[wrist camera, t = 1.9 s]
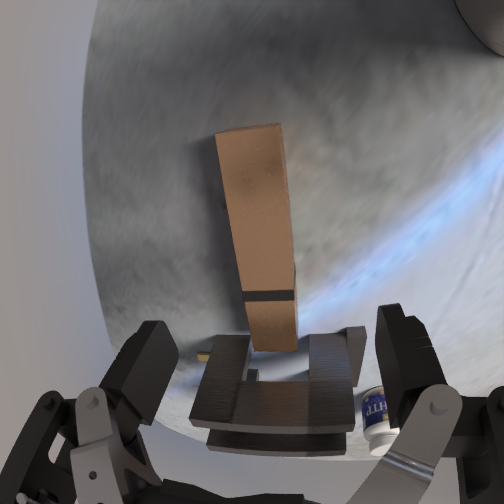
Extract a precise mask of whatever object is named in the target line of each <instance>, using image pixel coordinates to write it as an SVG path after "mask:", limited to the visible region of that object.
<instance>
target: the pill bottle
mask: <svg viewBox="0 0 504 504" xmlns="http://www.w3.org/2000/svg"><path fill="white" fill-rule="evenodd" d="M361 405H362V417H363V431H364V437H365V439H366V440H367V441H370V445H369V448H370V454H371V455H374V456H381V455H385V454H386V452H387V451H388V450H389V448H390V447H391V445H392V444H393V442H394V440H395V439H396V437H397V436H398V434H399V432H400V430H399V428H394V429H390V425H389V418H388V412H387V406H386V400H385V395H384V389H383V386H380V387H376V388H373V389H371V390H369V391H368V392H366V393H365V394H364V395H363V397H362V399H361Z"/></svg>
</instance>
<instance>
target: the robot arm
mask: <svg viewBox="0 0 504 504" xmlns="http://www.w3.org/2000/svg"><path fill="white" fill-rule="evenodd" d="M455 2H456V4H457V7H458V9H459V11H460V13H461V15H462V17H463V18H464V20H465V22H466V23H467V25H468V26H469V27H470V29H471V30H472V32H473V33H474V34H475V35H476V36H477V37H478V38H479V40H480V41H482V42H483V43H484V44H485V45H486V46H487V47H488V48H490V49H491V50H492V51H494V52H495V53H497V54H499V55H501V56H504V0H455ZM375 349H376V355H377V360H378V364H379V369H380V374H381V379H382V384H383V389H384V395H385V400H386V406H387V412H388V418H389V425H390V429H394V428H399V430H400V432H399V434H398V436H397V437H396V439H395V440H394V442H393V444H392V445H391V447H390V448H389V450H388V451H387V452H386V454H385V455H384V456H383V457H382V458H381V460H380V461H379V462H378V464H377V465H376V467H375V468H374V469H373V471H372V472H371V473H370V475H369V476H368V478H367V479H366V480H365V481H364V483H363V484H362V485H361V486H360V488H359V489H358V490H357V491H356V493H355V494H354V495H353V496H352V497H351V499H350V500H349V501H348V502H347V503H346V504H418V503H419V501H420V500H421V498H422V496H423V495H424V493H425V491H426V490H427V488H428V486H429V485H430V483H431V481H432V478H433V475H434V474H433V472H434V470H435V467H436V465H437V464H438V462H439V460H440V458H441V457H456V463H457V471H458V481H459V493H460V504H504V386H500V387H498V388H496V389H494V390H493V391H492V392H491V394H490V395H489V396H488V397H466V396H462V395H460V394H459V393H458V391H457V390H455V389H454V388H453V387H451V386H449V385H448V384H447V382H446V380H445V377H444V374H443V371H442V368H441V366H440V363H439V360H438V358H437V355H436V353H435V350H434V348H433V347H432V343H431V340H430V338H429V336H428V333H427V331H426V328H425V326H424V324H423V323H422V322H421V321H420V320H418V319H417V318H416V317H415V316H408V317H405V315H404V312H403V310H402V307H401V305H400V304H399V303H396V304H389V305H382V306H379V307H378V312H377V324H376V334H375ZM178 357H179V354H178V348H177V346H176V344H175V342H174V340H173V338H172V336H171V334H170V332H169V330H168V327H167V325H166V324H165V322H164V321H161V320H158V321H144V322H143V323H142V325H141V326H140V328H139V330H138V331H137V333H134V334H133V335H132V336H131V337H130V338H129V339H128V340H126V342H125V343H124V345H123V347H122V348H121V350H120V352H119V353H118V355H117V356H116V360H114V361H113V363H112V365H111V366H110V368H109V370H108V371H107V373H106V375H105V376H104V378H103V380H102V381H101V383H100V385H99V387H91V388H88V389H86V390H84V391H83V392H82V393H81V394H80V395H79V396H78V398H77V399H64V398H63V397H62V396H61V395H60V393H59V392H57V391H49V392H47V393H45V394H43V395H42V396H41V398H40V399H39V400H38V402H37V404H36V406H35V407H34V409H33V411H32V413H31V414H30V416H29V418H28V420H27V422H26V423H25V425H24V427H23V429H22V431H21V433H20V435H19V437H18V438H17V440H16V442H15V445H14V446H13V448H12V450H11V452H10V454H9V456H8V459H7V461H6V463H5V465H4V467H3V469H2V472H1V474H0V504H74V503H75V500H76V498H77V499H78V503H79V504H320V503H317V502H313V501H309V500H305V499H304V495H303V494H267V493H265V494H259V495H252V496H244V497H235V498H225V497H222V496H219V495H217V494H214V493H212V492H209V491H207V490H204V489H202V488H200V487H197V486H195V485H191V484H186V483H181V482H177V481H172V480H168V479H163V482H162V481H161V479H160V478H159V476H158V475H157V474H156V473H155V471H154V469H153V467H152V465H151V462H150V459H149V457H148V454H147V451H146V448H145V445H144V442H143V439H142V436H141V433H140V431H139V430H138V427H139V425H140V424H144V425H149V426H151V424H152V422H153V420H154V417H155V415H156V412H157V410H158V407H159V405H160V403H161V400H162V398H163V395H164V393H165V391H166V388H167V386H168V383H169V381H170V379H171V376H172V374H173V372H174V369H175V367H176V364H177V362H178ZM57 433H59V434H60V435H62V436H63V437H64V438H65V441H64V444H63V446H62V448H61V450H60V452H59V455H58V457H57V459H56V461H55V463H54V464H53V463H52V462H51V461H50V460H49V457H48V452H49V450H50V447H51V445H52V443H53V441H54V439H55V437H56V435H57Z"/></svg>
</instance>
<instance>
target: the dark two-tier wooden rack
mask: <svg viewBox="0 0 504 504" xmlns="http://www.w3.org/2000/svg"><path fill="white" fill-rule="evenodd" d="M366 339H367V334H366V329H365V326H362V327H348V328H346V333H333V334H311V335H309V381H304V382H264V381H259V373H258V370H253V369H248V367H249V362H250V357H251V352H252V347H253V343H252V338H251V335H216V338H215V341H214V344H213V347H212V350H211V353H202V352H198V353H197V356H198V359H199V361H207V365H206V368H205V371H204V374H203V377H202V380H201V383H200V386H199V389H198V392H197V395H196V398H195V401H194V404H193V407H192V410H191V413H190V416H189V420H190V422H191V423H192V425H193V426H196V427H202V428H210V432H209V436H208V440H207V443H206V446H207V447H208V449H209V450H211V451H220V452H228V453H236V454H246V455H259V456H281V457H316V456H337V455H345V452H346V432H353V430H354V427H355V411H354V399H353V388H352V387H357V384H358V380H359V375H360V371H361V366H362V361H363V356H364V351H365V345H366Z"/></svg>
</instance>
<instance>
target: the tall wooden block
mask: <svg viewBox="0 0 504 504" xmlns="http://www.w3.org/2000/svg"><path fill="white" fill-rule="evenodd" d="M215 138H216V144H217V150H218V156H219V162H220V168H221V174H222V180H223V186H224V192H225V197H226V203H227V209H228V215H229V220H230V226H231V231H232V237H233V243H234V248H235V254H236V259H237V265H238V270H239V275H240V281H241V286H242V294H243V300H244V302H245V307H246V312H247V318H248V323H249V328H250V333H251V338H252V343H253V348H254V351H297V344H298V308H297V291H296V270H295V261H294V248H293V235H292V223H291V212H290V201H289V191H288V181H287V171H286V162H285V153H284V144H283V136H282V128H281V123H276V124H266V125H257V126H249V127H241V128H234V129H228V130H225V131H222V132H220V133H217V134H215Z"/></svg>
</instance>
